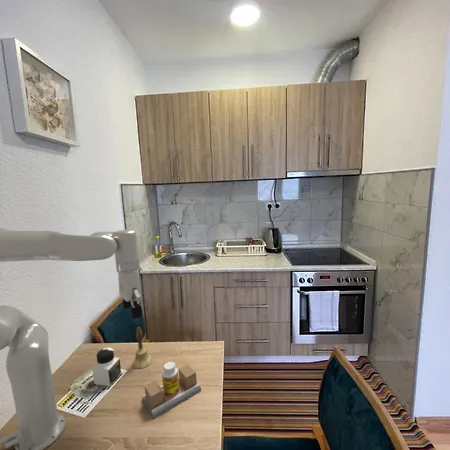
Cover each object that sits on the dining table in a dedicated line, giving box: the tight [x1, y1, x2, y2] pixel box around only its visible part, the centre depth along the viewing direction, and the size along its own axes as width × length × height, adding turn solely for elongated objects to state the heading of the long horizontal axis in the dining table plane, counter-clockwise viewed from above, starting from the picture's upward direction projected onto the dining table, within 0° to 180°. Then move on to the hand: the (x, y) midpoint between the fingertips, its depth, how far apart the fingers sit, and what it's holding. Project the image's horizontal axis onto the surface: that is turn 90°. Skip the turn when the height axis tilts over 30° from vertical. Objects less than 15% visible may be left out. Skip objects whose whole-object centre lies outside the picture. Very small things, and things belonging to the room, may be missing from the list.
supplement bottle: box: [161, 361, 179, 397], centre depth 91 cm, size 6×6×10 cm
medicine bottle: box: [91, 347, 122, 387], centre depth 101 cm, size 7×7×12 cm
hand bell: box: [131, 326, 153, 370], centre depth 110 cm, size 8×8×16 cm
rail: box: [142, 364, 202, 419], centre depth 92 cm, size 18×10×6 cm, turn 127°
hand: (132, 312), depth 91 cm, fingers open, 9 cm apart
